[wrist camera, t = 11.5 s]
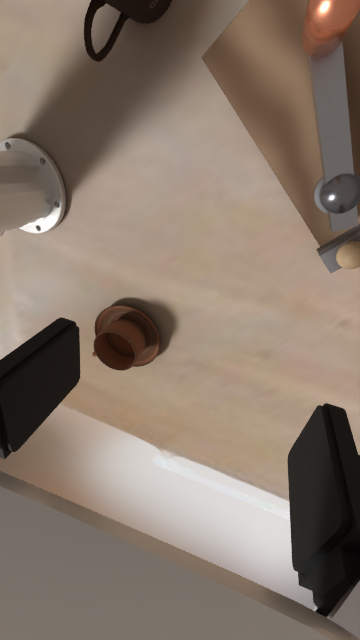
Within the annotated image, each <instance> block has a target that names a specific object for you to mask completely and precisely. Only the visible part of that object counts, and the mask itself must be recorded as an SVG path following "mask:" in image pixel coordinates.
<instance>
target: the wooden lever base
mask: <svg viewBox="0 0 360 640" xmlns="http://www.w3.org/2000/svg"><path fill="white" fill-rule="evenodd" d="M308 2H309V0H250V1H249V2H248V3H247V4H246V5H245V6H244V8H243V9H242V10H241V11H240V12H239V14H238V15H237V16H236V17H235V18H234V20H233V21H232V22H231V23H230V24H229V25H228V27H227V28H226V29H225V30H224V31H223V33H222V34H221V35H220V36H219V37H218V39H217V40H216V41H215V42H214V43H213V44H212V46H211V47H210V48H209V49H208V50H207V52H206V53H205V54H204V55H203V56H202V59H203V60H204V62H205V64H206V65H207V67H208V68H209V70H210V72H211V73H212V75H213V76H214V78H215V80H216V81H217V83H218V84H219V86H220V87H221V89H222V91H223V92H224V94H225V95H226V97H227V99H228V100H229V102H230V103H231V105H232V107H233V108H234V110H235V111H236V113H237V115H238V116H239V118H240V119H241V121H242V123H243V124H244V126H245V127H246V129H247V130H248V132H249V134H250V135H251V137H252V138H253V140H254V142H255V143H256V145H257V146H258V148H259V150H260V151H261V153H262V154H263V156H264V158H265V159H266V161H267V162H268V164H269V166H270V167H271V169H272V170H273V172H274V173H275V175H276V177H277V178H278V180H279V181H280V183H281V185H282V186H283V188H284V189H285V191H286V193H287V194H288V196H289V197H290V199H291V201H292V202H293V204H294V205H295V207H296V209H297V210H298V212H299V213H300V215H301V216H302V218H303V220H304V221H305V223H306V224H307V226H308V228H309V229H310V231H311V232H312V234H313V236H314V237H315V239H316V240H317V242H318V244H319V245H320V247H319V248H318V249H317V251H318V253H319V256H320V257H321V259H322V260H323V262H324V264H325V265H326V267H327V268H328V270H329V271H330V273H333V272H334V271H336V270H338V269H340V268H342V267H343V268H345V269H355V268H358V267H360V201H359V203H358V204H357V213H358V225H359V226H355V227H352V228H348V229H344V230H340V231H336V232H332V231H331V230H330V229H329V221H328V213H327V210H326V209H325V208H324V207H323V206H322V205H321V203H320V200H319V192H320V189H321V187H322V185H323V184H324V182H323V174H322V166H321V158H320V150H319V142H318V134H317V126H316V119H315V111H314V103H313V95H312V87H311V79H310V71H309V64H308V56H307V53H306V51H305V50H304V48H303V45H302V30H303V25H304V21H305V16H306V11H307V6H308ZM342 43H343V54H344V66H345V77H346V88H347V100H348V111H349V123H350V134H351V145H352V157H353V168H354V175H355V176H356V177H358V178H359V179H360V9H359V11H358V12H357V14H356V16H355V18H354V20H353V21H352V23H351V25H350V27H349V29H348V31H347V32H346V34H345V36H344V38H343V40H342Z"/></svg>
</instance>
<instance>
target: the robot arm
mask: <svg viewBox="0 0 360 640" xmlns="http://www.w3.org/2000/svg"><path fill="white" fill-rule="evenodd" d="M65 208H66V193H65V187H64V183H63V180H62V177H61V175H60V172H59V170H58V169H57V167H56V165H55V163H54V162H53V160H52V159H51V158H50V157H49V155H48V154H47V153H46V152H45V151H44V150H43V149H42V148H40V147H39V146H37V145H36V144H35V143H32V142H30V141H28V140H25V139H19V138H8V139H4V140H2V141H1V142H0V236H2V235H3V234H4V232H5V231H7V230H11V229H15V228H20V229H22V230H24V231H26V232H30V233H44V232H47V231H50V230H52V229H54V228H55V227H56V226H57V225H58V224H59V223H60V222H61V220H62V218H63V216H64V212H65ZM79 379H80V343H79V327H77V326H76V323H75V322H74V321H71V320H68V319H65V318H59V319H57V320H56V321H54V322H53V323H51V324H50V325H49V326H47V327H46V328H44V329H43V330H42V331H40V332H39V333H37V334H36V335H35V336H33V337H32V338H30V339H29V340H28V341H26V342H25V343H24V344H22V345H21V346H19V347H18V348H17V349H15V350H14V351H12V352H11V353H10V354H8V355H7V356H5V357H4V358H3V359H1V360H0V457H1V458H3V459H6V457H7V456H8V455H9V454H10V453H11V452H15V451H17V450H18V449H19V448H20V447H21V446H22V445H23V444H24V443H25V441H27V439H28V438H29V437H30V436H31V435H32V434H33V433H34V431H35V430H36V429H37V428H38V427H39V426H40V425H41V424H42V423H43V422H44V420H45V419H46V418H47V417H48V416H49V415H50V414H51V413H52V411H53V410H54V409H55V408H56V407H57V406H58V405H59V404H60V403H61V401H62V400H63V399H64V398H65V397H66V396H67V395H68V394H69V392H70V391H71V390H72V389H73V388H74V387H75V386H76V385H77V383H78V381H79ZM288 478H289V500H290V522H291V542H292V563H293V568H294V570H295V571H297V572H298V577H299V585H300V586H302V587H305V588H307V589H309V590H312V591H313V600H314V603H315V605H316V607H315V608H314V609H313V610H311V609H309V608H307V607H305V606H304V605H302V604H300V603H298V602H296V601H294V600H291V599H289V598H287V597H285V596H283V595H281V594H278V593H276V592H274V591H272V590H270V589H268V588H266V587H263V586H261V585H259V584H257V583H255V582H253V581H251V580H248V579H246V578H244V577H242V576H240V575H237V574H235V573H233V572H231V571H228V570H226V569H224V568H222V567H219V566H217V565H215V564H213V563H210V562H208V561H206V560H204V559H201V558H199V557H197V556H195V555H192V554H190V553H188V552H185V551H183V550H181V549H179V548H176V547H174V546H172V545H170V544H167V543H165V542H163V541H161V540H158V539H156V538H154V537H152V536H149V535H147V534H145V533H142V532H140V531H138V530H136V529H133V528H131V527H129V526H126V525H124V524H122V523H120V522H117V521H115V520H113V519H110V518H108V517H106V516H103V515H101V514H99V513H97V512H94V511H92V510H90V509H87V508H85V507H83V506H80V505H78V504H76V503H73V502H71V501H69V500H67V499H64V498H62V497H60V496H57V495H55V494H53V493H50V492H48V491H46V490H43V489H41V488H39V487H36V486H34V485H32V484H29V483H27V482H25V481H23V480H20V479H18V478H16V477H13V476H11V475H8V474H6V473H4V472H1V471H0V640H360V455H358V453H357V449H356V446H355V442H354V439H353V435H352V432H351V428H350V425H349V421H348V418H347V414H346V411H345V410H344V409H343V408H340V407H337V406H334V405H331V404H327V403H326V404H324V405H323V406H320V405H319V406H317V408H316V409H315V411H314V412H313V414H312V416H311V417H310V419H309V421H308V422H307V424H306V425H305V427H304V429H303V430H302V432H301V434H300V435H299V437H298V438H297V440H296V442H295V443H294V445H293V447H292V448H291V450H290V452H289V455H288Z"/></svg>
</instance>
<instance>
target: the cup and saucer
mask: <svg viewBox="0 0 360 640" xmlns="http://www.w3.org/2000/svg"><path fill="white" fill-rule="evenodd" d="M95 334H96V338H95V340H94V350H95V351H94V352H93V354H92V355H93V356H97V357H98V358H99V359H100V360H101V361H102V362H103V363H104V364H105V365H106V366H108V367H110V368H112V369H115V370H127V369H129V368H131V367H132V366H134V367H138V366H144V365H147V364H149V363H150V362H152V361H153V360H154V359H155V358H156V356H157V354H158V352H159V348H160V338H159V334H158V331H157V329H156V327H155V325H154V324H153V322H152V321H151V320H150V319H149V318H148V317H147V316H146V315H145V314H143V313H142V312H141V311H139V310H137V309H135V308H132V307H129V306H125V305H115V306H111V307H108V308H106V309H104V310H103V311H102V312H101V313H100V314H99V315H98V317H97V319H96V322H95Z"/></svg>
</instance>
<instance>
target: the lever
mask: <svg viewBox="0 0 360 640" xmlns="http://www.w3.org/2000/svg"><path fill="white" fill-rule="evenodd" d="M359 9H360V0H309V2H308V6H307V11H306V16H305V21H304V25H303V30H302V45H303V48H304V50H305V51H306V53H307V56H308V64H309V71H310V79H311V87H312V95H313V103H314V111H315V119H316V126H317V134H318V142H319V150H320V158H321V166H322V174H323V182H324V184H323V185H322V187H321V189H320V192H319V200H320V203H321V205H322V206H323V207H324V208H325V209H326V210H327V213H328V221H329V229H330V230H331V231H332V232H336V231H340V230H344V229H348V228H352V227H355V226H359V225H358V213H357V204H358V203H359V201H360V179H359V178H358V177H356V176H355V175H354V168H353V157H352V145H351V134H350V123H349V111H348V100H347V88H346V77H345V66H344V54H343V43H342V40H343V38H344V36H345V34H346V32H347V31H348V29H349V27H350V25H351V23H352V21H353V20H354V18H355V16H356V14H357V12H358V11H359Z"/></svg>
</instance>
